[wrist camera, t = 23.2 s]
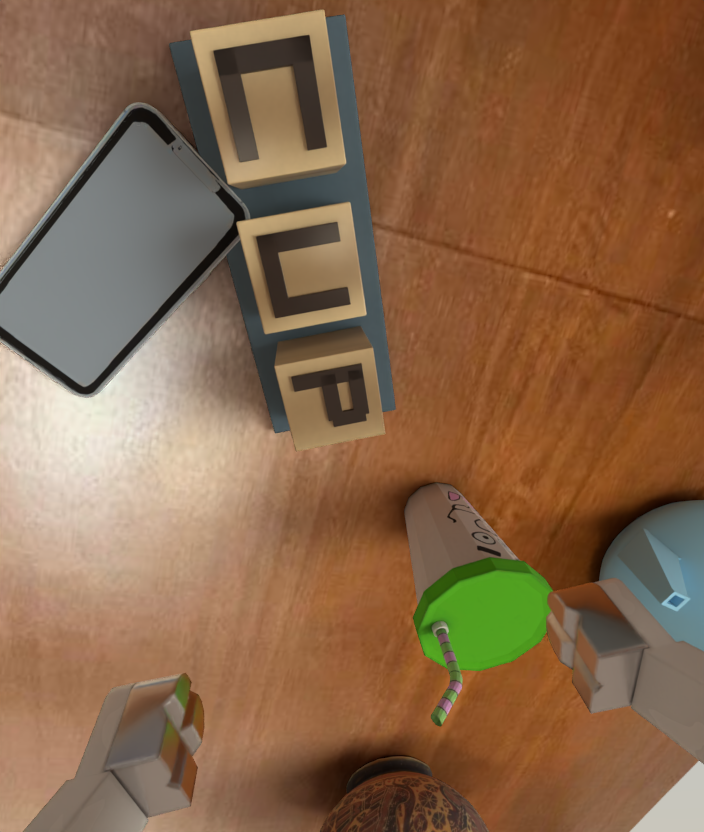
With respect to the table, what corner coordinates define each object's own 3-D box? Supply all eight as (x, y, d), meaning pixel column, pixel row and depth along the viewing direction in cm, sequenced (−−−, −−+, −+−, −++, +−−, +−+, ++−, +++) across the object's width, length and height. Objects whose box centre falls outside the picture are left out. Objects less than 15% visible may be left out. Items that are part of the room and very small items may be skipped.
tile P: (277, 341, 25) (273, 367, 21) (361, 325, 26) (373, 348, 21) (295, 416, 28) (295, 453, 23) (372, 401, 28) (386, 435, 24)
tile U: (246, 220, 23) (235, 221, 18) (340, 203, 23) (350, 201, 19) (269, 314, 25) (264, 335, 21) (355, 298, 25) (367, 316, 21)
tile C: (210, 67, 20) (187, 28, 16) (318, 49, 20) (324, 6, 16) (240, 189, 22) (227, 184, 18) (337, 172, 22) (346, 163, 18)
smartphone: (-36, 316, 23) (137, 89, 20) (-24, 312, 24) (144, 93, 21) (88, 405, 26) (259, 220, 23) (95, 398, 27) (261, 219, 23)
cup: (504, 489, 33) (649, 682, 19) (443, 560, 35) (534, 777, 22) (422, 446, 30) (522, 634, 17) (363, 526, 33) (409, 746, 19)
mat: (171, 47, 20) (168, 42, 19) (343, 18, 20) (345, 13, 19) (275, 429, 28) (274, 433, 28) (394, 406, 29) (396, 410, 28)
